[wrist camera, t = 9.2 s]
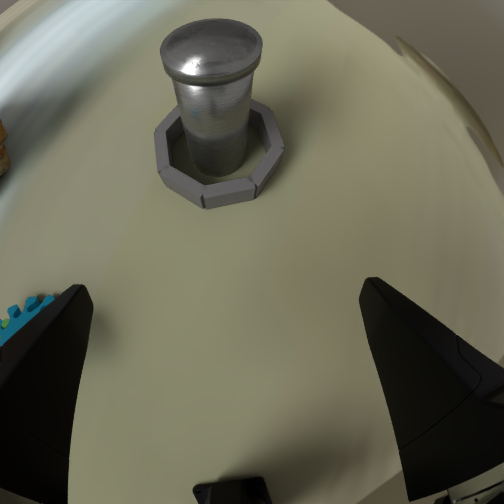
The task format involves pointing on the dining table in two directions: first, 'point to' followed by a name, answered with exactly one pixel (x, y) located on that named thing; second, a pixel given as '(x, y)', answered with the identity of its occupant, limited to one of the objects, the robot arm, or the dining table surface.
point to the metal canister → (213, 88)
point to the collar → (225, 190)
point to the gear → (21, 316)
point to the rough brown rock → (3, 151)
